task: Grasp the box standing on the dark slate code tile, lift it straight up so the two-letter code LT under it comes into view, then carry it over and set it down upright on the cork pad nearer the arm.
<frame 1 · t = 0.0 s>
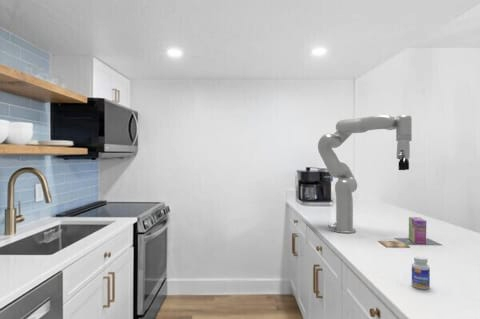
hand: (403, 169, 185), 37 cm above the worktop, tool pointing down, fingers open, 9 cm apart
pill bottle: (420, 287, 115), on the worktop
cork pad: (393, 244, 172), on the worktop
box: (417, 241, 178), resting on code tile
code tile: (417, 241, 178), on the worktop
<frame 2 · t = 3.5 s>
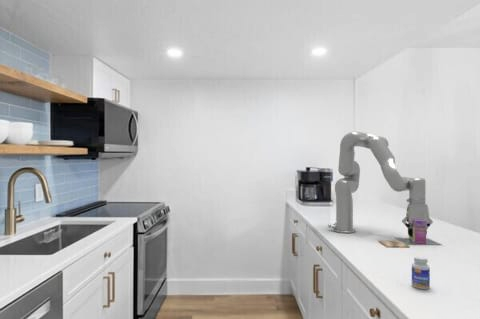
hand: (417, 235, 178), 3 cm above the worktop, tool pointing down, fingers closed on box, 6 cm apart
box: (417, 241, 178), resting on code tile, touching gripper
everything else where it was.
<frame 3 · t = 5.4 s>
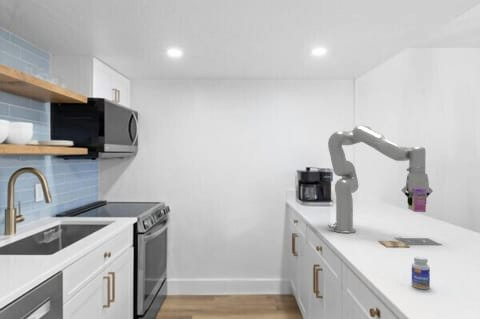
hand: (416, 204, 178), 19 cm above the worktop, tool pointing down, fingers closed on box, 6 cm apart
box: (416, 210, 178), point 16 cm above the worktop, touching gripper
everything else where it was.
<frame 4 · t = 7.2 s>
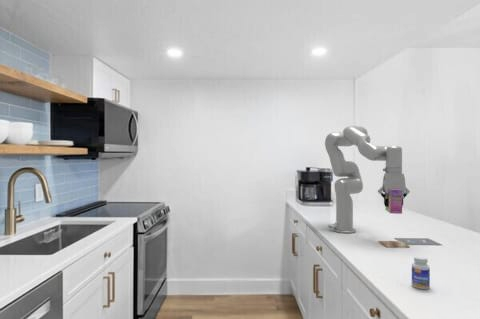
hand: (393, 206, 172), 19 cm above the worktop, tool pointing down, fingers closed on box, 6 cm apart
box: (393, 212, 172), point 16 cm above the worktop, touching gripper
everything else where it was.
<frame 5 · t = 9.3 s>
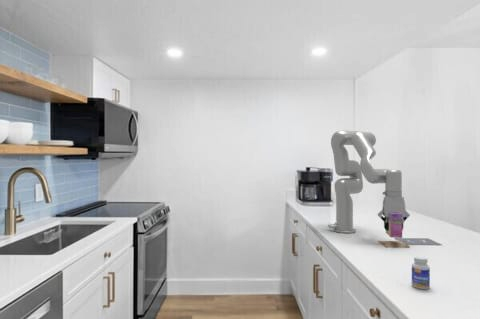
hand: (393, 229, 171), 8 cm above the worktop, tool pointing down, fingers closed on box, 6 cm apart
box: (393, 235, 171), point 4 cm above the worktop, touching gripper
everything else where it was.
when the fingers open (5 cm above the worktop, at t = 10.8 s): box drops 2 cm, resting on cork pad.
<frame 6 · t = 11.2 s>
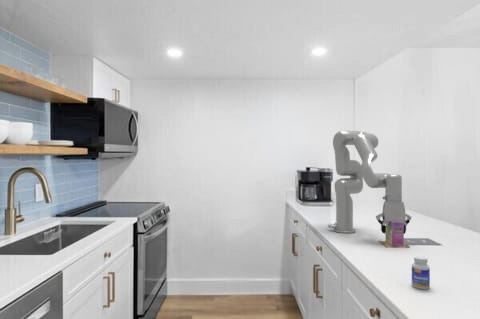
hand: (393, 233, 172), 6 cm above the worktop, tool pointing down, fingers open, 9 cm apart
box: (394, 243, 172), resting on cork pad
everything else where it was.
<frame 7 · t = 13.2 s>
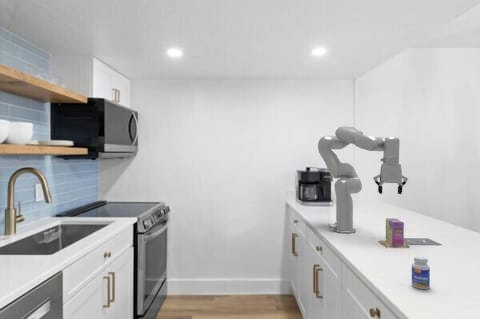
hand: (390, 193, 178), 25 cm above the worktop, tool pointing down, fingers open, 9 cm apart
nothing on the worktop moved.
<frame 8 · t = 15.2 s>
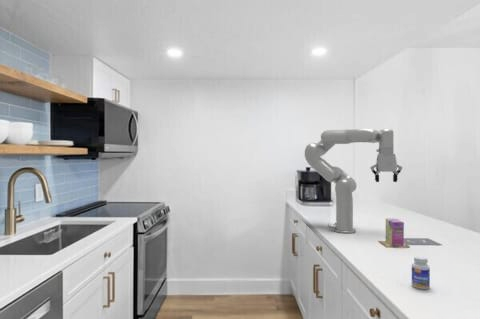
hand: (386, 181, 191), 30 cm above the worktop, tool pointing down, fingers open, 9 cm apart
nothing on the worktop moved.
at the end: box inside the target area on the cork pad (0.4 cm from its centre), point 0.4 cm above the cork pad's base; box tilted 0°; box touching cork pad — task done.
